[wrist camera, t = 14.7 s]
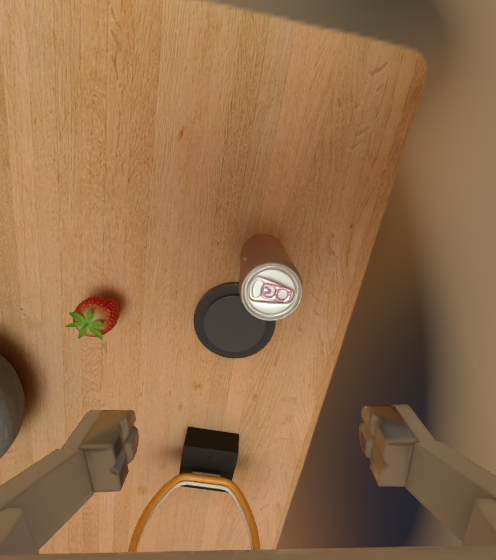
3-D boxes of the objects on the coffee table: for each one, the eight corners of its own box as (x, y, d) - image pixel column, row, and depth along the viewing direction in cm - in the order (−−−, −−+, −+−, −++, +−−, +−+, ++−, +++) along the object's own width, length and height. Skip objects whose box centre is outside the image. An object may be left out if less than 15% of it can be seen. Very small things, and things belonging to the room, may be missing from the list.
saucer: (275, 282, 42) (276, 285, 40) (274, 355, 45) (275, 360, 44) (191, 283, 42) (190, 286, 40) (197, 356, 45) (195, 361, 44)
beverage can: (277, 279, 42) (294, 328, 27) (236, 270, 41) (232, 315, 27) (289, 238, 40) (313, 269, 25) (246, 228, 39) (246, 254, 25)
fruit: (109, 326, 44) (80, 355, 36) (84, 299, 42) (49, 324, 35) (136, 307, 43) (113, 334, 35) (112, 279, 41) (82, 301, 34)
